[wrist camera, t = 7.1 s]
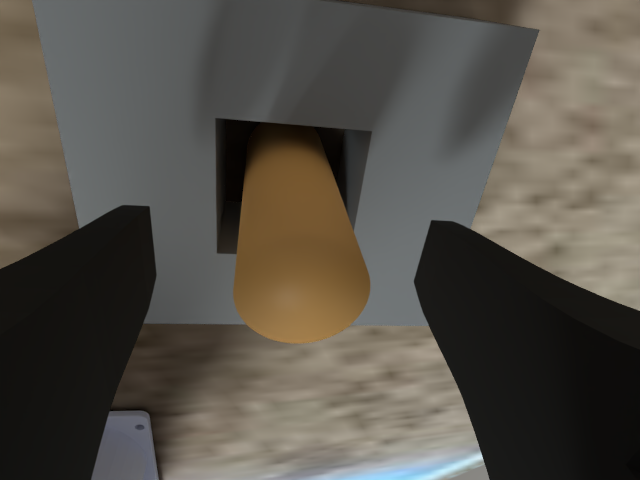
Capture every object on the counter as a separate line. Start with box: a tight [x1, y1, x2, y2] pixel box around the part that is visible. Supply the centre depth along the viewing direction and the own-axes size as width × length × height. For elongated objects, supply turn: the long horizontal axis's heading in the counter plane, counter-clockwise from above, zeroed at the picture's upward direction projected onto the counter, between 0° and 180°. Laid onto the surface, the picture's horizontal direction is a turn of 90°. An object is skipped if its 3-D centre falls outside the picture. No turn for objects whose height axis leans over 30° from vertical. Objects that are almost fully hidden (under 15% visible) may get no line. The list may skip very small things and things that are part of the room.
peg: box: [233, 122, 370, 343], centre depth 13 cm, size 3×3×9 cm
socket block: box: [32, 0, 539, 326], centre depth 15 cm, size 11×13×4 cm
